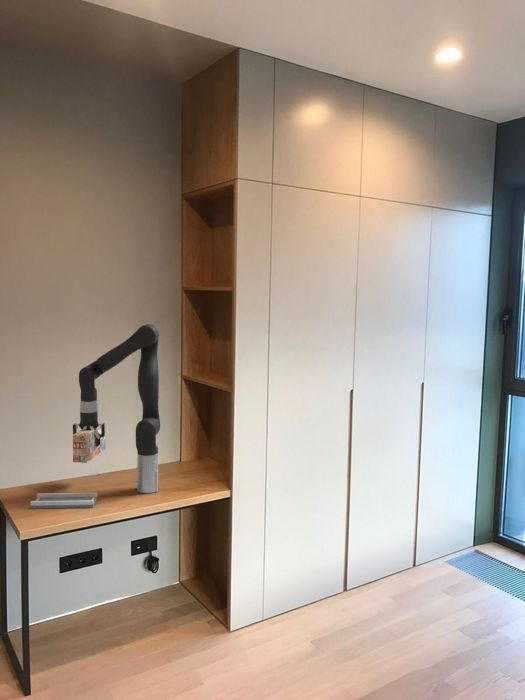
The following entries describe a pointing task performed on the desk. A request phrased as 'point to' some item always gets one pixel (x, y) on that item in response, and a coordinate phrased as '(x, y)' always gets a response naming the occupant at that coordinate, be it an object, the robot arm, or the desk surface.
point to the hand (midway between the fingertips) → (89, 446)
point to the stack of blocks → (86, 445)
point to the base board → (64, 500)
